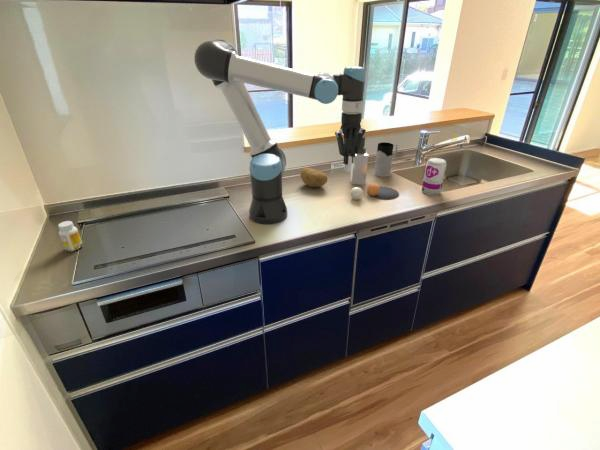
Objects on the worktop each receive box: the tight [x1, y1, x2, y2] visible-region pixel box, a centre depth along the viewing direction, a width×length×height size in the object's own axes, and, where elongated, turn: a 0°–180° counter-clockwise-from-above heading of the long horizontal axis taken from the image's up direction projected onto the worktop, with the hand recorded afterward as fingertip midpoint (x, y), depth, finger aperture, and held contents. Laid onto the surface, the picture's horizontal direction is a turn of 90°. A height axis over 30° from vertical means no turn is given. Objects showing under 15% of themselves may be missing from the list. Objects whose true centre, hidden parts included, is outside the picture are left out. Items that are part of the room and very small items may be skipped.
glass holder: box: [373, 142, 398, 178], centre depth 174 cm, size 9×14×15 cm, turn 130°
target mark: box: [366, 185, 400, 201], centre depth 155 cm, size 14×14×1 cm
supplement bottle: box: [57, 220, 83, 251], centre depth 115 cm, size 5×5×10 cm
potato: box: [300, 167, 328, 188], centre depth 160 cm, size 10×14×8 cm
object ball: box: [366, 183, 380, 197], centre depth 152 cm, size 6×6×6 cm
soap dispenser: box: [350, 135, 369, 186], centre depth 162 cm, size 6×9×22 cm
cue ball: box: [349, 186, 364, 201], centre depth 148 cm, size 6×6×6 cm
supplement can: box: [421, 157, 447, 196], centre depth 152 cm, size 8×8×15 cm
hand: (347, 171), depth 141 cm, fingers closed
